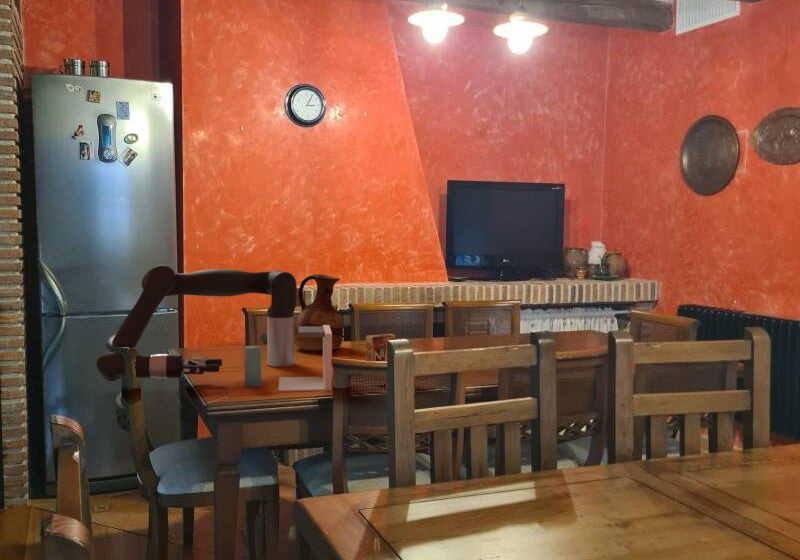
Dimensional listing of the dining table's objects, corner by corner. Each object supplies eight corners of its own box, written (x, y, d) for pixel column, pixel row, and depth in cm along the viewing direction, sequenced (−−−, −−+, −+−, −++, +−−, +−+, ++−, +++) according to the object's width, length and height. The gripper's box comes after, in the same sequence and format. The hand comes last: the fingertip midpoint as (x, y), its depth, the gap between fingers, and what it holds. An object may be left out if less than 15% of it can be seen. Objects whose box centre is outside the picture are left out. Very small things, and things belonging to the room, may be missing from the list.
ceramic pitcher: (340, 354, 292) (341, 276, 289) (288, 353, 292) (288, 275, 289) (345, 345, 311) (345, 272, 309) (295, 344, 311) (296, 271, 309)
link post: (245, 383, 240) (245, 345, 239) (261, 383, 241) (261, 345, 240) (244, 387, 236) (244, 348, 234) (260, 386, 236) (260, 348, 235)
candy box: (371, 384, 242) (371, 337, 240) (364, 382, 245) (364, 335, 244) (394, 381, 247) (395, 334, 245) (387, 379, 250) (388, 332, 249)
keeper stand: (279, 378, 248) (279, 325, 247) (328, 377, 251) (329, 324, 249) (278, 391, 231) (278, 334, 229) (331, 390, 233) (332, 333, 231)
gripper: (162, 358, 227) (218, 357, 229) (170, 349, 241) (222, 349, 243) (162, 383, 228) (218, 382, 230) (170, 373, 242) (222, 372, 244)
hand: (220, 365), depth 236 cm, fingers open, 8 cm apart
